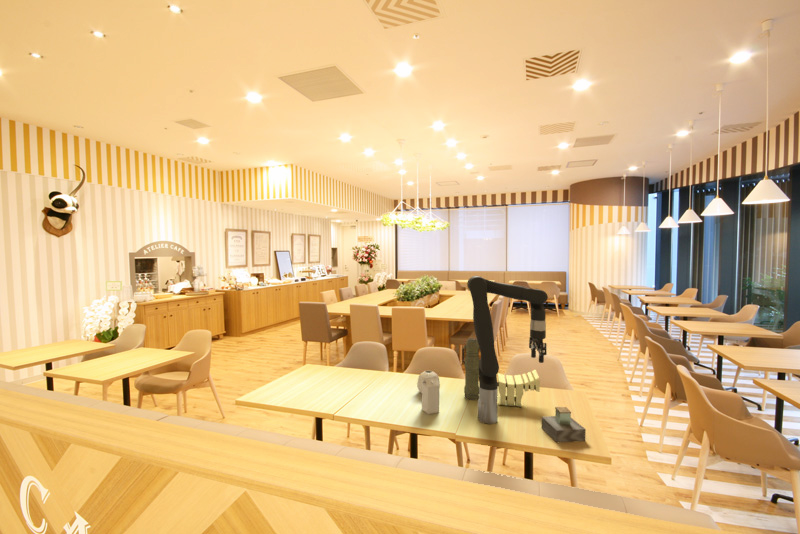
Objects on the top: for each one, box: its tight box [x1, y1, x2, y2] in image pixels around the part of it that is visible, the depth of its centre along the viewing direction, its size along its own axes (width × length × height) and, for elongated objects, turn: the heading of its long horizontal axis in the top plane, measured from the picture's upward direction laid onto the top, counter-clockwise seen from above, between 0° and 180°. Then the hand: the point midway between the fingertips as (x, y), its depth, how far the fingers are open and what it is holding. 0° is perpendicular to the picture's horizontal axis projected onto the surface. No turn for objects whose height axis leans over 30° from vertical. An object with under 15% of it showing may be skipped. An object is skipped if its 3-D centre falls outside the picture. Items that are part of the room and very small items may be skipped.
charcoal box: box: [541, 415, 586, 443], centre depth 174 cm, size 14×14×6 cm
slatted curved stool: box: [497, 369, 541, 408], centre depth 211 cm, size 30×16×18 cm, turn 78°
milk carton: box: [421, 376, 440, 415], centre depth 199 cm, size 7×7×19 cm
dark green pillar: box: [461, 338, 481, 401], centre depth 218 cm, size 9×12×35 cm
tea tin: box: [554, 406, 572, 425], centre depth 174 cm, size 5×5×6 cm
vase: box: [416, 369, 441, 394], centre depth 224 cm, size 14×14×13 cm
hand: (537, 360), depth 185 cm, fingers open, 8 cm apart
